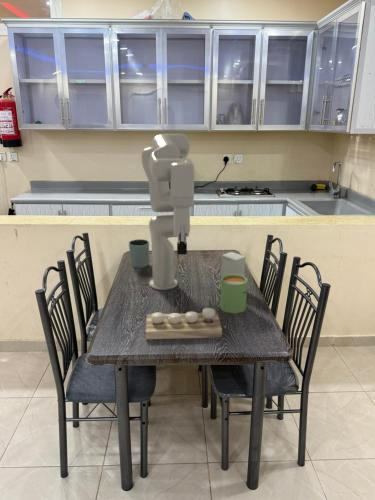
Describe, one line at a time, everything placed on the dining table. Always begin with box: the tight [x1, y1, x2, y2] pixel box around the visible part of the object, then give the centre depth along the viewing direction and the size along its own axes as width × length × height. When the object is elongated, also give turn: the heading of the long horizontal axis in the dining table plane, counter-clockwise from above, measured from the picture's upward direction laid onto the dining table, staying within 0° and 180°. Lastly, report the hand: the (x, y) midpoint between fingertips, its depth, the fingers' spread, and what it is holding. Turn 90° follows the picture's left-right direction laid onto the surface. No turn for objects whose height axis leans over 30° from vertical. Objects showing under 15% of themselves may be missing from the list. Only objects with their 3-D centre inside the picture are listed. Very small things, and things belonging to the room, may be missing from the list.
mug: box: [219, 274, 248, 314], centre depth 156 cm, size 13×10×12 cm
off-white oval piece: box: [151, 311, 165, 325], centre depth 139 cm, size 4×4×5 cm
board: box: [145, 312, 223, 340], centre depth 141 cm, size 12×26×3 cm, turn 93°
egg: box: [201, 307, 216, 323], centre depth 140 cm, size 4×4×5 cm
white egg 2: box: [184, 311, 199, 324], centre depth 140 cm, size 4×4×5 cm
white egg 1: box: [168, 312, 181, 324], centre depth 140 cm, size 4×4×5 cm
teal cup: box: [128, 239, 150, 269], centre depth 198 cm, size 10×10×12 cm
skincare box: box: [219, 251, 246, 289], centre depth 171 cm, size 8×7×16 cm
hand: (181, 253), depth 135 cm, fingers closed
